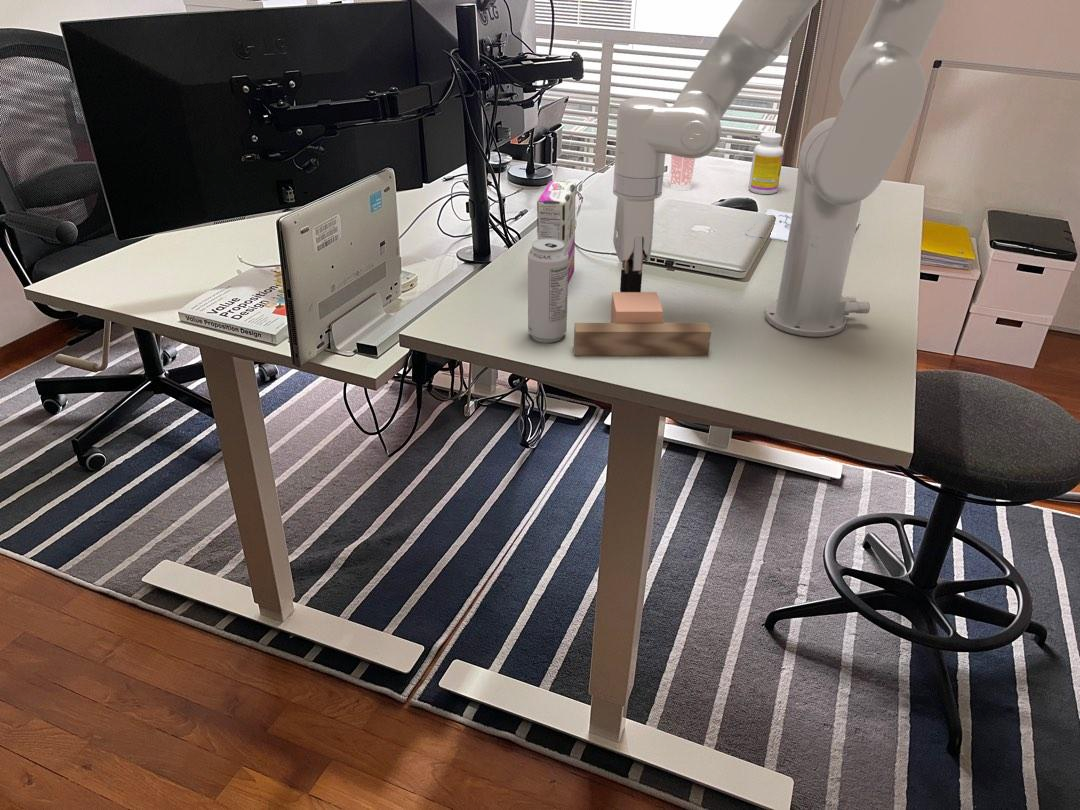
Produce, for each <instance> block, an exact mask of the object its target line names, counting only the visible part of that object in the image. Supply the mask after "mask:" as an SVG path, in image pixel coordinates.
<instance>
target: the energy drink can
mask: <svg viewBox="0 0 1080 810" xmlns="http://www.w3.org/2000/svg"><path fill="white" fill-rule="evenodd" d="M564 246H565V244H564V242H563V241H561V240H558V239H551V238H544V239H538V238H537V239H536V240H533V241H532V243H531V248H530V249H529V252H528V253H527V331H528V333H529V334H530V335H531V338H532V339H533V340H535V341H537V342H540V343H545V344H546V343H547V344H548V343H556V342H559V341H560V340H562V339H563V337H564V335H565V334H566V333H567V325H568V295H569V293H568V291H569V290H568V289H569V283H568V258H569V255H568V253H567V251H566V249H565V247H564Z"/></svg>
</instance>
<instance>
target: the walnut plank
mask: <svg viewBox="0 0 1080 810" xmlns="http://www.w3.org/2000/svg"><path fill="white" fill-rule="evenodd" d="M573 325H574V326H573V327H574V329H573V330H574V331H573V351H574V357H579V356H580V357H584V356H585V357H586V356H589V357H590V356H591V357H592V356H593V357H597V356H598V357H613V356H614V357H617V356H618V357H622V356H623V357H624V356H625V357H626V356H630V357H632V356H633V357H635V356H636V357H637V356H638V357H642V356H643V357H645V356H647V357H650V356H651V357H653V356H654V357H657V356H659V357H661V356H662V357H669V356H671V357H673V356H675V357H677V356H679V357H680V356H681V357H682V356H683V357H687V356H688V357H689V356H690V357H697V356H699V357H700V356H701V357H702V356H703V357H704V356H705V357H707V356H709V351H710V344H711V335H712V331H711V328H710V326H709V323H708V322H662V323H610V322H574V324H573Z"/></svg>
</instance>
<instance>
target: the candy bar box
mask: <svg viewBox="0 0 1080 810" xmlns="http://www.w3.org/2000/svg"><path fill="white" fill-rule="evenodd" d="M576 185H577V182H572V181H562V180H561V181H557V180H551V181H549V182H548V183H547V185H546V187H545V188H544V190H543V192H542V193H541V195H540V196H539V198H538V199H537V201H536V206H537V207H536V209H537V210H536V211H537V212H536V213H537V214H536V215H537V220H536V221H537V222H536V223H537V228H536V230H537V231H536V232H537V233H536V234H537V235H536V236H537V240H538V239H544V238H551V239H558V240H561V241H563V242H564V244H565V246H564V247H565V249H566V251H567V253H568V255H569V258H568V284H569V282H570V280H571V278H572V275H573V274H574V272H575V252H576V250H575V249H576V247H575V246H576V245H575V242H576V237H575V236H576V199H577V198H576V195H577V193H576V192H577V191H576Z"/></svg>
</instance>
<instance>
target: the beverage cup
mask: <svg viewBox="0 0 1080 810" xmlns="http://www.w3.org/2000/svg"><path fill="white" fill-rule="evenodd" d="M670 156H671V157H670V158H671V161H670V189H671V190H673V191H676V192H686V191H689V190H691V185H692V180H693V173H694V168H695V167H694V166H695V161H696V158H684V157H679V156H675V155H670Z"/></svg>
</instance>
